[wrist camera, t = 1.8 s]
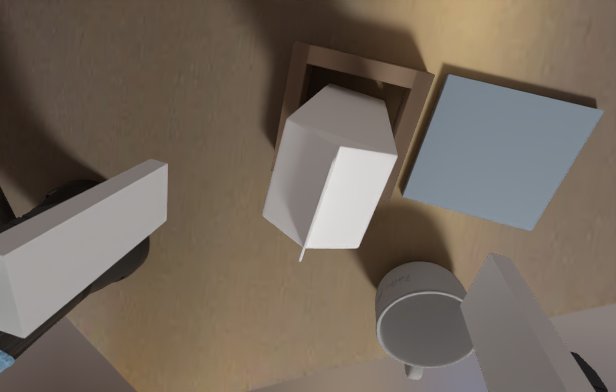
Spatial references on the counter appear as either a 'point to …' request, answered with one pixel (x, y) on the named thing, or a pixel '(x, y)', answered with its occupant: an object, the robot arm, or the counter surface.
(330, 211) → the milk
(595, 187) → the counter surface
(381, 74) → the frame
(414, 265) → the teacup
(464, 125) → the board
